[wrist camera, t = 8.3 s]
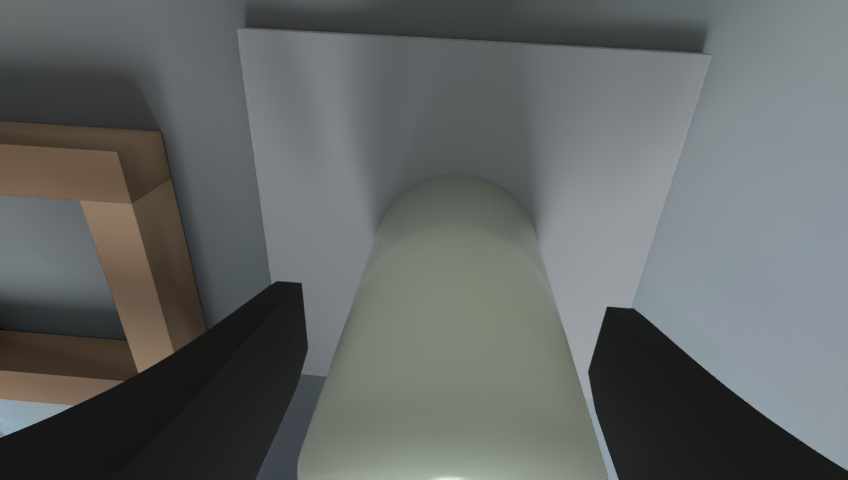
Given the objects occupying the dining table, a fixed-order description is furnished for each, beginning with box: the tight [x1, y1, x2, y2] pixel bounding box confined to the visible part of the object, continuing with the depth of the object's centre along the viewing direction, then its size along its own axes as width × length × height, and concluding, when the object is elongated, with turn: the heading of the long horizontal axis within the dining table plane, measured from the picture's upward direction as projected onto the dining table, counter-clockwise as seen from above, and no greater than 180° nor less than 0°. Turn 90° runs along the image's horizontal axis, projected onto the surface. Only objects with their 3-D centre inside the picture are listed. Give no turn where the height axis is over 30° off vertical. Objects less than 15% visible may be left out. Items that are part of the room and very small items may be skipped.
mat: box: [236, 27, 713, 399], centre depth 15 cm, size 12×12×1 cm
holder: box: [0, 121, 207, 405], centre depth 16 cm, size 10×10×2 cm
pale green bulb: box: [297, 175, 608, 480], centre depth 11 cm, size 5×5×8 cm
